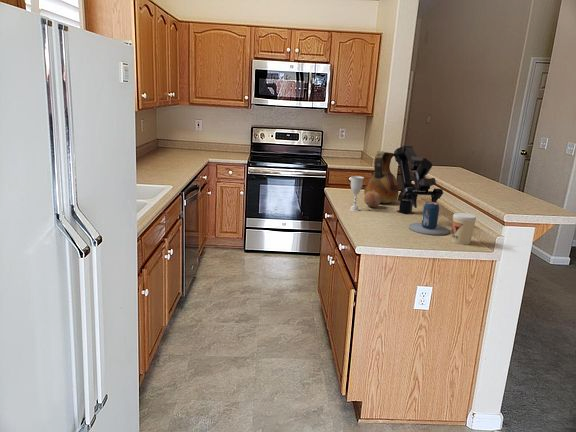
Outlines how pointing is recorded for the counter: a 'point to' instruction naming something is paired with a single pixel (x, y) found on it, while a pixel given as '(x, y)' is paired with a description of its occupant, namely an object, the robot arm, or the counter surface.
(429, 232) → the rubber mat
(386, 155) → the ceramic pitcher
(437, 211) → the soda can
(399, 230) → the counter surface
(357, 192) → the chalice
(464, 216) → the coffee cup
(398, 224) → the counter surface
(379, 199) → the onion
